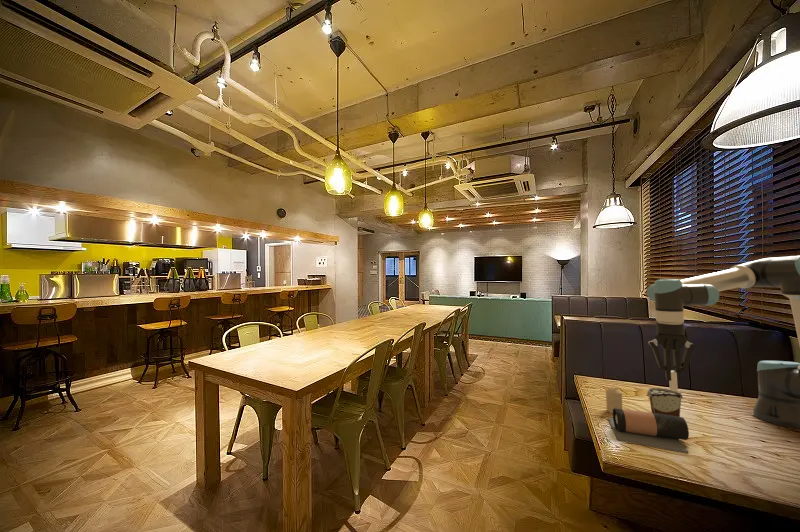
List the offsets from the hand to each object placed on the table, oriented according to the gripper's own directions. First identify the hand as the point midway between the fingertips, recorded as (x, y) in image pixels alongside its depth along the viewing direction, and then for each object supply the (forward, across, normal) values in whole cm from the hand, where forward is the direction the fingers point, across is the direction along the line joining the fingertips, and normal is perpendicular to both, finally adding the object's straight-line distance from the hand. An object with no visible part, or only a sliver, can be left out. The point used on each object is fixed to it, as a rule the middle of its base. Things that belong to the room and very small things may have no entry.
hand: (673, 389), depth 109 cm
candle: (+17, +15, -18) cm, 29 cm away
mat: (+17, +9, 0) cm, 19 cm away
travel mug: (+13, -2, +1) cm, 13 cm away
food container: (+18, -2, -23) cm, 29 cm away
